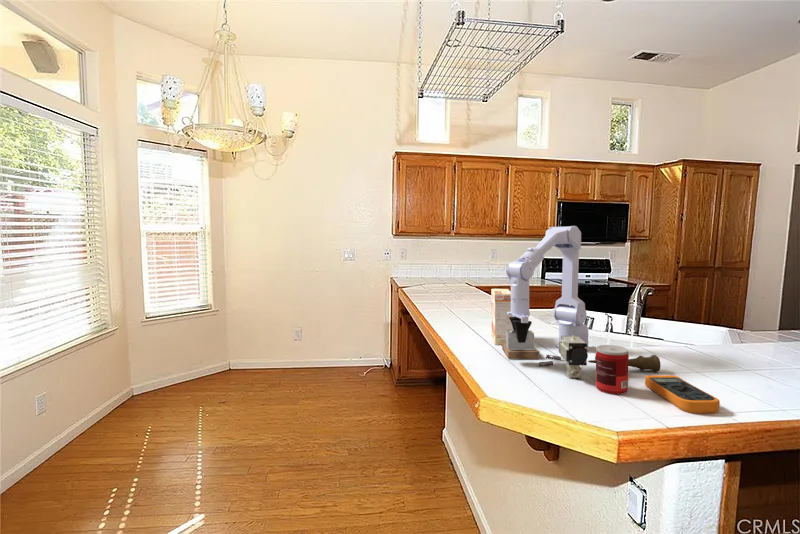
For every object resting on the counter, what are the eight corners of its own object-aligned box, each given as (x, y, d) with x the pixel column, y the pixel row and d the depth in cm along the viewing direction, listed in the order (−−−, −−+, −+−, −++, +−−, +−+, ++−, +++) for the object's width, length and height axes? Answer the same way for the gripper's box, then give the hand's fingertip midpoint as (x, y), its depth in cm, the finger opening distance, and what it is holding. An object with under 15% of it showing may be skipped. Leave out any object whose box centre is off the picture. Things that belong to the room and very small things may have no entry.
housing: (531, 345, 136) (531, 329, 135) (534, 348, 132) (534, 332, 131) (506, 345, 136) (506, 329, 136) (508, 348, 132) (508, 332, 132)
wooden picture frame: (530, 349, 150) (530, 341, 149) (539, 359, 138) (539, 350, 137) (502, 349, 150) (502, 341, 150) (508, 359, 138) (508, 350, 138)
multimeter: (685, 415, 94) (686, 401, 94) (642, 386, 112) (643, 374, 112) (724, 415, 94) (725, 400, 93) (675, 386, 112) (675, 374, 111)
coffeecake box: (491, 335, 171) (490, 288, 170) (508, 335, 170) (508, 288, 169) (494, 345, 156) (493, 293, 155) (513, 345, 155) (513, 293, 154)
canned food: (625, 385, 112) (625, 345, 112) (630, 396, 105) (631, 353, 104) (593, 382, 115) (594, 343, 114) (597, 393, 107) (598, 351, 107)
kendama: (666, 378, 119) (593, 376, 120) (648, 368, 128) (582, 366, 130) (667, 358, 118) (594, 355, 120) (649, 349, 128) (582, 347, 130)
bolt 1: (554, 364, 131) (552, 366, 132) (552, 360, 131) (550, 362, 132) (542, 365, 129) (540, 367, 130) (540, 361, 130) (538, 363, 131)
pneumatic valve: (575, 370, 126) (576, 331, 125) (588, 383, 114) (588, 340, 113) (556, 369, 127) (557, 331, 126) (567, 383, 115) (567, 340, 114)
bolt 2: (559, 360, 135) (560, 361, 136) (559, 356, 136) (561, 357, 137) (545, 358, 138) (547, 359, 139) (546, 354, 138) (547, 355, 139)
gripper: (503, 295, 140) (503, 335, 141) (511, 302, 126) (511, 346, 127) (524, 295, 140) (524, 335, 141) (535, 302, 125) (535, 346, 126)
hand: (520, 340), depth 134 cm, fingers closed on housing, 4 cm apart
